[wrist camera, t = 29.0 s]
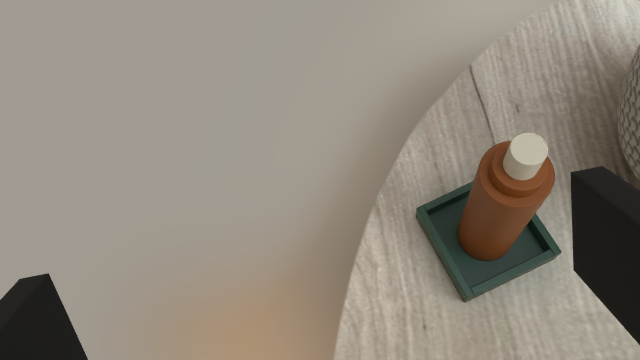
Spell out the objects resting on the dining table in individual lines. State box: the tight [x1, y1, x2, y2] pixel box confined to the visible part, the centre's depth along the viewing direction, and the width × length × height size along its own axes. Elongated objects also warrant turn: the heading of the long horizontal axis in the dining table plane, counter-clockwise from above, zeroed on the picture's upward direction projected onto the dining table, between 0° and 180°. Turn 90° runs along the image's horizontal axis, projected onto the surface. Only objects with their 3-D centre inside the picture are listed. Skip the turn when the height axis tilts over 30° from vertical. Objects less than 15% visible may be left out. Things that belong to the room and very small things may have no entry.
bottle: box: [457, 133, 555, 261], centre depth 37 cm, size 4×4×16 cm
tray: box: [416, 181, 561, 302], centre depth 44 cm, size 8×8×2 cm
